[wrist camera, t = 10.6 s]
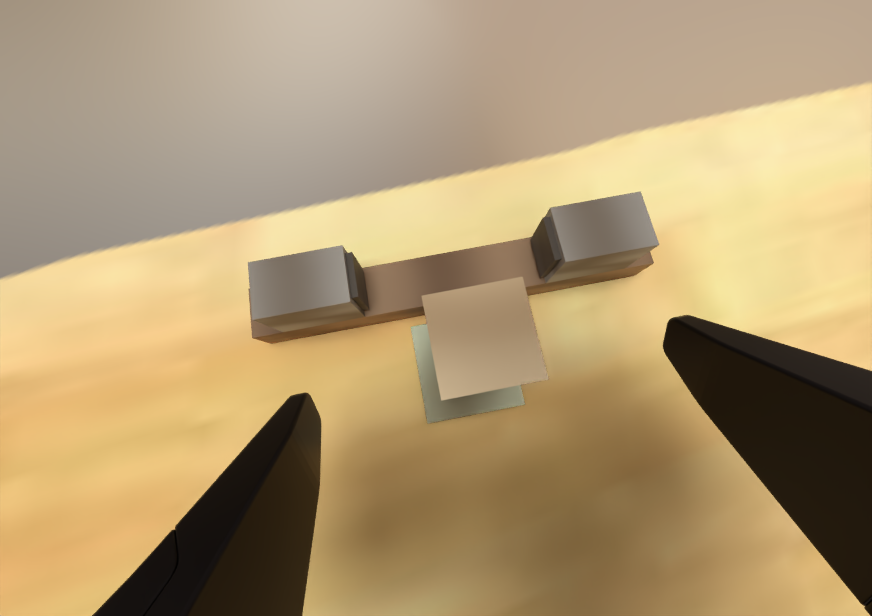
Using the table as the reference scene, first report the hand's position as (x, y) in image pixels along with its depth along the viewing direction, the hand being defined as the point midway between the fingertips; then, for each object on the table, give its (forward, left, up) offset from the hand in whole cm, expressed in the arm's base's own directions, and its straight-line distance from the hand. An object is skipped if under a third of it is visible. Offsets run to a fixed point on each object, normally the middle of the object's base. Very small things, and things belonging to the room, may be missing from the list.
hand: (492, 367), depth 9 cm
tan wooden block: (+1, -1, -10) cm, 10 cm away
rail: (+2, -2, -10) cm, 11 cm away
